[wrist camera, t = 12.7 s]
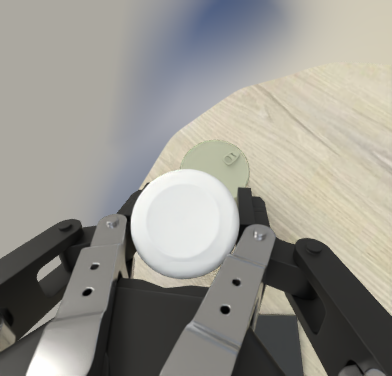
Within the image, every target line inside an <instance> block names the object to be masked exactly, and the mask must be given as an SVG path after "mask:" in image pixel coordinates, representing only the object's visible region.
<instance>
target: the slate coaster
mask: <svg viewBox="0 0 392 376" xmlns="http://www.w3.org/2000/svg"><path fill="white" fill-rule="evenodd" d="M254 332H255V334H256V335H257V336H258V338H259V339H260V340H261V342H262V343H263V345H264V346H265V347H266V349H267V350H268V351H269V353H270V354H271V356H272V357H273V358H274V360H275V361H276V362H277V364H278V365H279V367H280V368H281V369H282V371H283V372H284V373H285V375H286V376H304V374H303V366H302V357H301V349H300V341H299V332H298V324H297V316H296V315H279V314H258V319H257V323H256V327H255V331H254Z"/></svg>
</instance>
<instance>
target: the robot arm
mask: <svg viewBox="0 0 392 376" xmlns="http://www.w3.org/2000/svg"><path fill="white" fill-rule="evenodd" d="M148 184H149V183H147V184H146V185H145V187H144V188H143V189H142V190H138V191H136V192H135V193H133V194H132V195H131V196H130V198H129V199H128V200H127V201H126V203H125V204H124V205H123V206H122V207H121V209H120V210H119V211H118V212H117V214H112V215H109V216H106V217H104V218H102V219H101V220H100V221H99V222H98V225H97V226H91V227H83V228H82V225H81V222H80V221H79V220H75V219H69V220H65V221H62V222H59V223H57V224H56V225H54V226H52V227H50V228H49V229H47V230H46V231H44V232H42V233H41V234H39V235H38V236H36V237H35V238H33V239H31V240H30V241H28V242H26V243H25V244H23V245H22V246H20V247H18V248H17V249H15V250H14V251H12V252H11V253H9V254H7V255H6V256H4V257H2V258H1V259H0V376H286V375H285V373H284V372H283V371H282V369H281V368H280V367H279V365H278V364H277V362H276V361H275V360H274V358H273V357H272V356H271V354H270V353H269V351H268V350H267V349H266V347H265V346H264V345H263V343H262V342H261V340H260V339H259V338H258V336H257V335H256V334H255V332H254V331H255V327H256V323H257V319H258V314H259V311H260V307H261V303H262V300H263V296H264V292H265V289H266V285H269V286H271V287H274V288H276V289H279V290H282V291H284V292H285V295H286V297H287V299H288V301H289V303H290V305H291V307H292V308H293V310H294V312H295V314H296V316H297V318H298V320H299V322H300V324H301V325H302V327H303V329H304V331H305V333H306V335H307V337H308V339H309V341H310V343H311V344H312V346H313V348H314V350H315V352H316V354H317V356H318V358H319V360H320V361H321V363H322V365H323V367H324V369H325V371H326V373H327V375H328V376H392V316H391V315H390V314H389V313H388V312H387V311H386V310H385V309H384V307H383V306H382V305H381V304H380V303H379V302H378V301H377V300H376V299H375V298H374V297H373V295H372V294H371V293H370V292H369V291H368V290H367V289H366V288H365V287H364V286H363V284H362V283H361V282H360V281H359V280H358V279H357V278H356V277H355V276H354V275H353V273H352V272H351V271H350V270H349V269H348V268H347V267H346V266H345V265H344V264H343V263H342V261H341V260H340V259H339V258H338V257H337V256H336V255H335V254H334V253H333V252H332V250H331V249H330V248H329V247H328V246H327V245H325V244H324V243H322V242H320V241H318V240H315V239H310V238H303V239H299V240H298V241H297V242H296V243H295V244H291V243H288V242H285V241H282V240H280V239H278V238H277V237H276V234H275V232H274V231H273V230H272V229H271V228H270V225H269V220H268V216H267V211H266V207H265V202H264V201H263V200H262V199H261V198H260V197H254V196H252V194H251V188H242V187H238V191H237V204H236V205H237V208H238V213H239V233H238V238H237V241H236V248H235V250H234V252H233V254H230V253H228V254H227V256H226V258H225V260H224V261H223V263H222V265H221V267H220V269H219V271H218V273H217V275H216V277H215V278H214V280H213V282H212V284H211V286H210V288H209V287H200V286H182V287H173V288H163V287H160V286H158V285H155V284H152V283H150V282H147V281H144V280H139V279H133V276H134V264H135V258H134V254H135V252H136V251H137V250H136V248H135V246H134V243H133V240H132V235H131V216H132V212H133V208H134V205H135V203H136V201H137V199H138V197H139V196H140V194H141V193H142V191H143V190H144V189H145V188H146V186H147V185H148ZM58 255H59V258H60V260H61V262H62V264H60V265H59V266H58V267H57V268H55V269H54V270H53V271H52V272H50V273H49V274H48V275H47V276H45V277H44V278H43V279H42V280H40V281H39V282H38V281H37V274H38V272H39V270H40V269H41V268H42V267H43V266H45V265H46V264H47V263H49V262H50V261H51V260H53V259H54V258H55V257H56V256H58ZM60 300H62V301H61V303H60V306H59V309H58V311H57V314H56V316H55V317H54V318H53V319H51V320H49V321H48V322H46V323H45V324H43V325H42V326H40V327H39V328H37V329H36V330H34V331H32V332H31V333H29V334H28V335H26V336H25V337H23V338H22V339H20V338H21V337H22V336H23V335H24V334H25V333H27V332H28V331H29V330H30V329H31V328H32V327H33V326H34V325H35V324H36V323H37V322H38V321H39V320H40V319H42V318H43V317H44V316H45V315H46V313H48V312H49V311H50V310H51V309H52V308H53V307H54V306H55V305H56V304H57V303H58V302H59V301H60ZM19 339H20V340H19Z"/></svg>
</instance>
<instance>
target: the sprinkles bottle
mask: <svg viewBox="0 0 392 376" xmlns="http://www.w3.org/2000/svg"><path fill="white" fill-rule="evenodd" d="M238 233H239V213H238V208H237V205H236V202H235V200H234V198H233V196H232V194H231V193H230V191H229V190H228V188H227V187H226V186H225V185H224V184H223V183H222V182H221V181H219V180H218V179H217V178H215V177H214V176H212V175H210V174H208V173H205V172H203V171H199V170H194V169H180V170H174V171H171V172H168V173H165V174H163V175H161V176H159V177H157V178H156V179H154V180H153V181H152V182H151V183H149V184H148V185H147V186H146V188H145V189H144V190H143V191H142V193H141V194H140V196H139V197H138V199H137V201H136V203H135V205H134V208H133V212H132V216H131V235H132V240H133V243H134V246H135V248H136V250H137V252H138V254H139V256H140V257H141V259H142V260H143V261H144V262H145V263H146V264H147V265H148V266H149V267H150V268H152V269H153V270H154V271H156V272H158V273H160V274H162V275H164V276H167V277H170V278H176V279H191V278H197V277H200V276H203V275H206V274H208V273H210V272H212V271H214V270H215V269H217V268H218V267H219V266H220V265H221V264H222V263H223V261H224V260H225V258H226V256H227V254H228V253H230V254H231V252H232V251H233V248H234V246H235V244H236V241H237V238H238Z"/></svg>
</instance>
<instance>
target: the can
mask: <svg viewBox="0 0 392 376" xmlns="http://www.w3.org/2000/svg"><path fill="white" fill-rule="evenodd" d="M180 169H194V170H199V171H203V172H205V173H208V174H210V175H212V176H214V177H215V178H217V179H218V180H219V181H221V182H222V183H223V184H224V185H225V186H226V187H227V188H228V190H229V191H230V193H231V194H232V196H233V198H234V200H235V202H236V204H237V191H238V187H242V188H245V187H246V186H247V183H248V180H249V173H250V170H249V164H248V161H247V159H246V157H245V155H244V154H243V152H242V151H241V150H240V149H239V148H238V147H236V146H235V145H233V144H231V143H229V142H226V141H222V140H209V141H204V142H202V143H199V144H197V145H196V146H194V147H193V148H192V149H190V150H189V151H188V152H187V154H186V155H185V156H184V158H183V160H182V163H181V166H180Z"/></svg>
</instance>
